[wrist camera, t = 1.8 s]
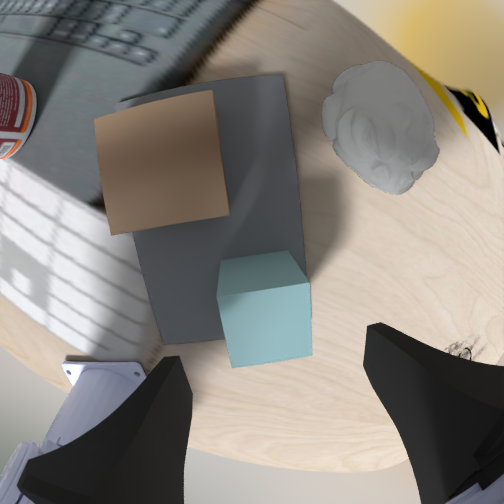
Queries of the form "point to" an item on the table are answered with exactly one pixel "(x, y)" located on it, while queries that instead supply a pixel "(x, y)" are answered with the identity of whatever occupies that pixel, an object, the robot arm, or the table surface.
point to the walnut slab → (162, 163)
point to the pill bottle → (15, 113)
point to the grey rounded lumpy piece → (380, 126)
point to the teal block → (264, 309)
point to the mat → (241, 208)
